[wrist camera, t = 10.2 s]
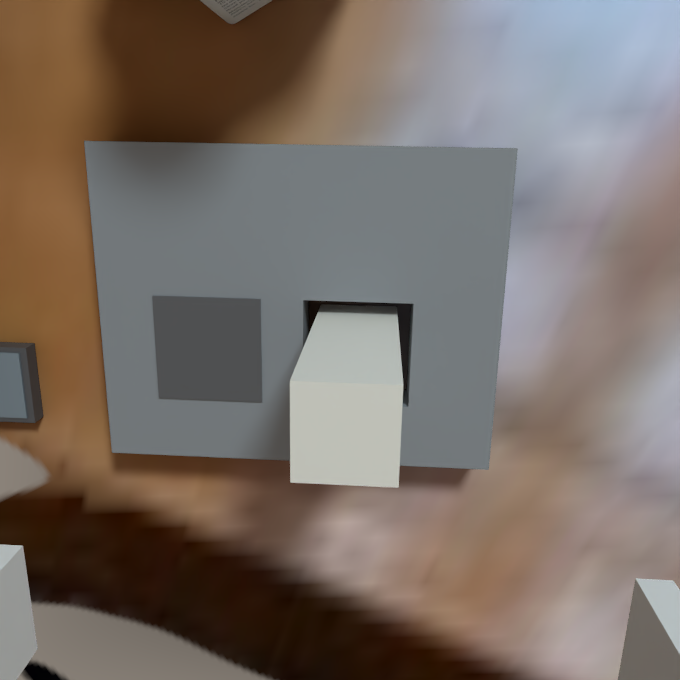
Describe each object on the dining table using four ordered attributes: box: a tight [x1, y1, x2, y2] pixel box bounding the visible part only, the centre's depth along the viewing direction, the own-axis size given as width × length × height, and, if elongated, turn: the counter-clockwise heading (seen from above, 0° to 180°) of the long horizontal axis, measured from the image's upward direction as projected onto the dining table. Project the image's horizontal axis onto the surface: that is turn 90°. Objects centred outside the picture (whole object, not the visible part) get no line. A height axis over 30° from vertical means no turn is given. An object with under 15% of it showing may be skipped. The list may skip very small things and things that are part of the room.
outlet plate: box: [84, 141, 518, 470], centre depth 33 cm, size 16×20×3 cm
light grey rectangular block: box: [290, 304, 403, 488], centre depth 29 cm, size 4×4×12 cm
